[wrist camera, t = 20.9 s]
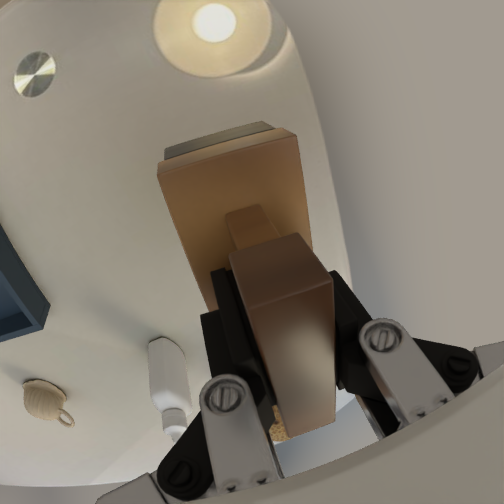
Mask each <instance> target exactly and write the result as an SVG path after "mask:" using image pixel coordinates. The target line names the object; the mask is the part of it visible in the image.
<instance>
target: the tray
mask: <svg viewBox="0 0 504 504" xmlns="http://www.w3.org/2000/svg"><path fill="white" fill-rule="evenodd" d="M49 309H50V304H49V302H48V301H47V300H46V298H45V297H44V295H43V294H42V292H41V291H40V289H39V288H38V286H37V285H36V283H35V282H34V280H33V279H32V277H31V276H30V274H29V273H28V271H27V270H26V268H25V266H24V265H23V263H22V261H21V260H20V258H19V256H18V255H17V253H16V251H15V250H14V248H13V246H12V245H11V243H10V241H9V239H8V237H7V236H6V234H5V232H4V230H3V228H2V226H1V225H0V342H3V341H6V340H9V339H13V338H16V337H19V336H23V335H26V334H29V333H33V332H36V331H39V330H43V328H44V325H45V321H46V318H47V315H48V312H49Z"/></svg>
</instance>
